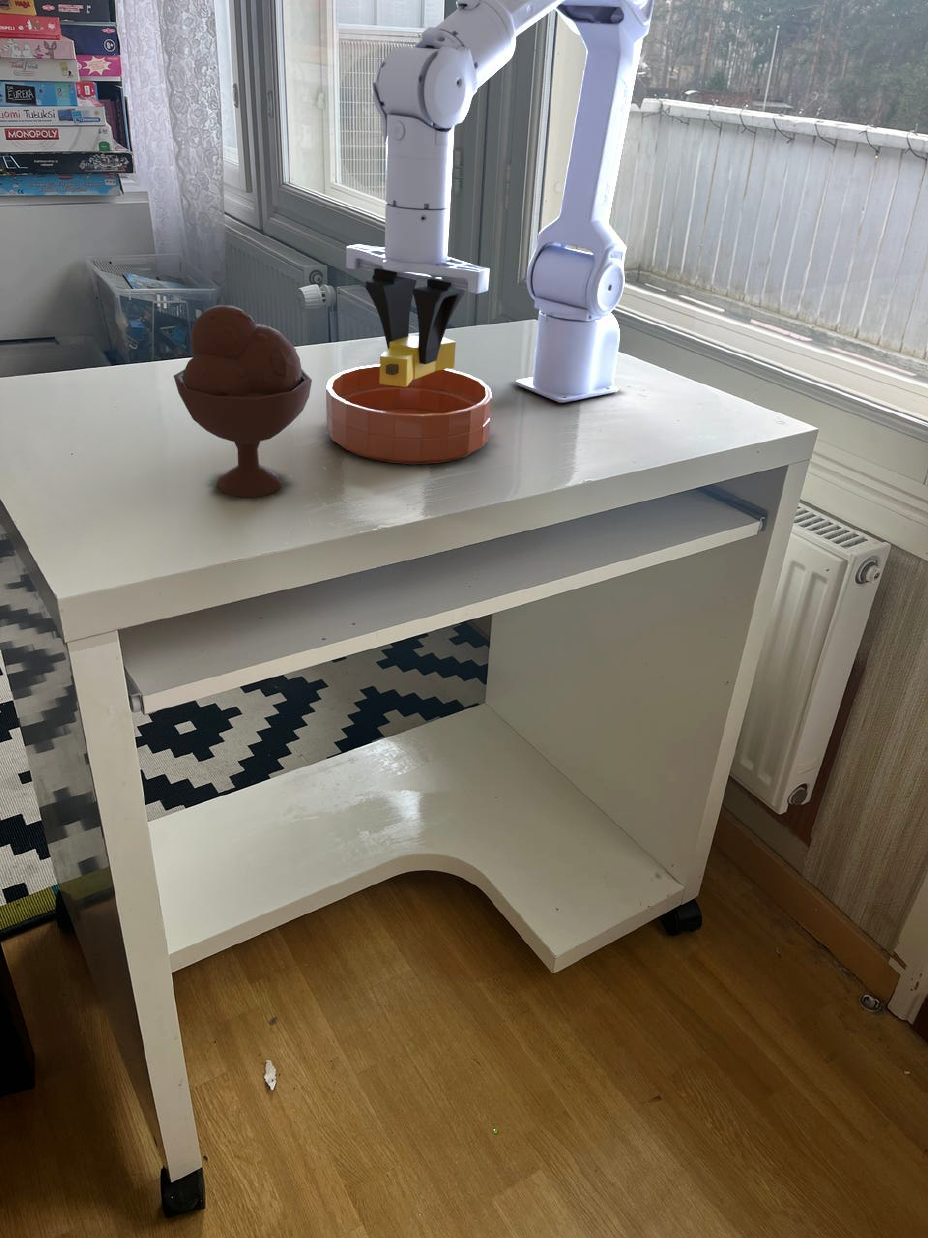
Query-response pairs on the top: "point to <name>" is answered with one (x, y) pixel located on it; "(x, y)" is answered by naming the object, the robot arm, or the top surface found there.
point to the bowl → (408, 415)
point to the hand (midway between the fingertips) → (412, 357)
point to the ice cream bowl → (242, 390)
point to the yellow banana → (412, 361)
